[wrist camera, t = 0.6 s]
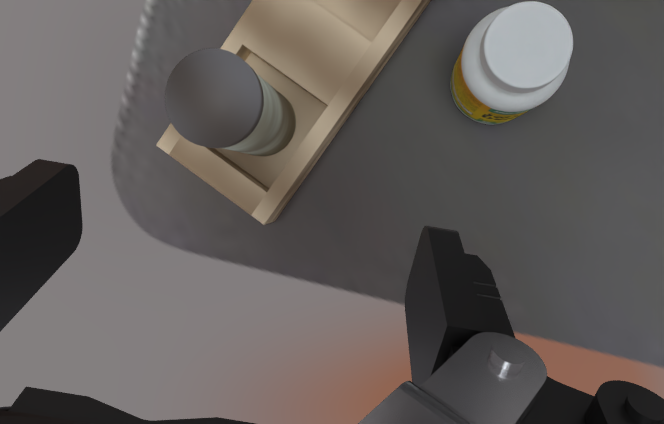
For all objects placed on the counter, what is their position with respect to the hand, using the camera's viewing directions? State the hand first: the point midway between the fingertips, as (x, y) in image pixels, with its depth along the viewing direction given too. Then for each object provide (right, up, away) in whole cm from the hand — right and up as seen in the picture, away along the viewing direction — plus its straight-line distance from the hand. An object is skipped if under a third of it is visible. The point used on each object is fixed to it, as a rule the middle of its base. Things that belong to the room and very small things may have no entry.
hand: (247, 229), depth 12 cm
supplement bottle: (+12, +9, +22) cm, 26 cm away
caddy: (+1, +11, +23) cm, 25 cm away
